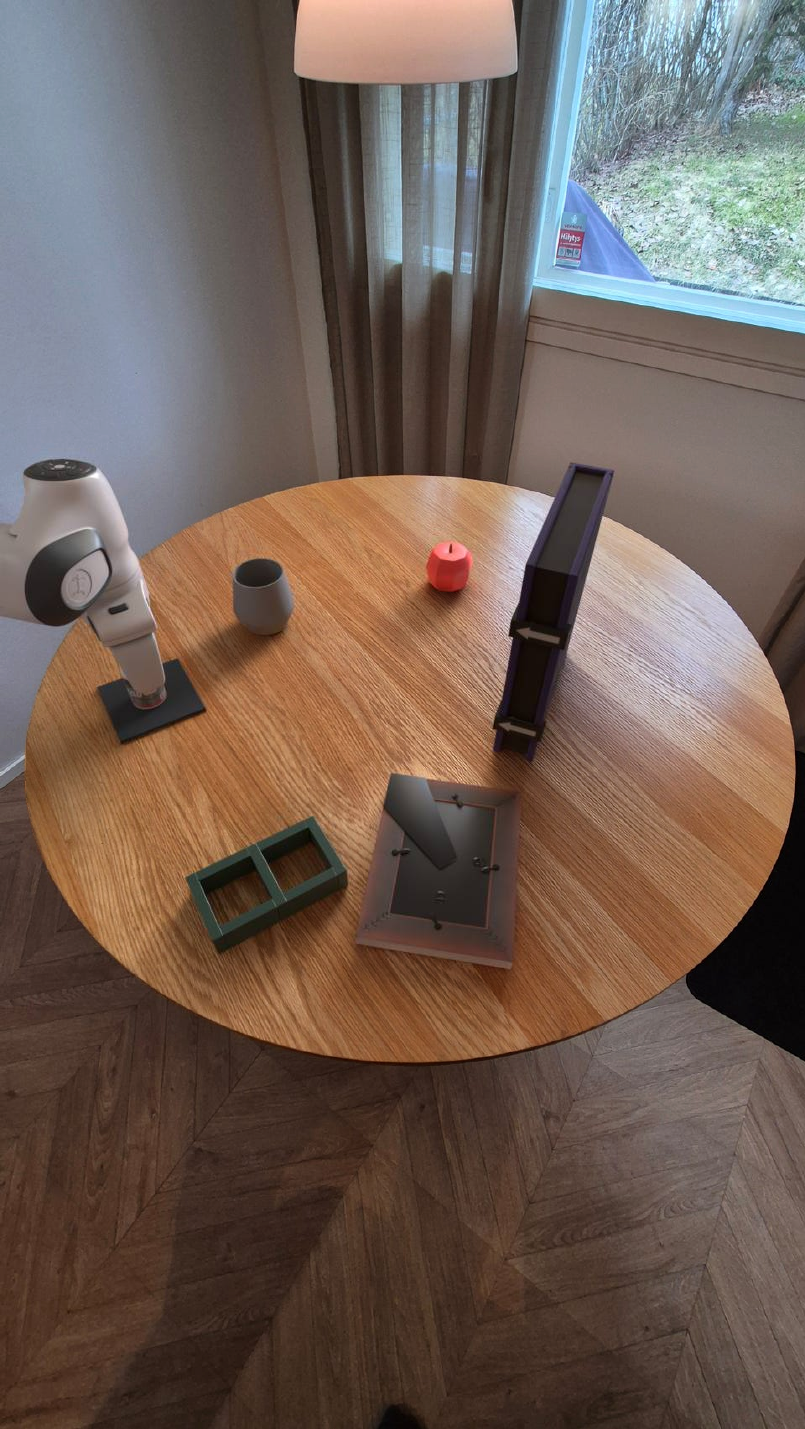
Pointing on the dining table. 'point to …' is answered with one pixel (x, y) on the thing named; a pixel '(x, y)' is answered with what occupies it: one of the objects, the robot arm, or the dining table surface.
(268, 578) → the cup
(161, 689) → the pill bottle
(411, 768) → the dining table surface
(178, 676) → the mat
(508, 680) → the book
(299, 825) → the holder
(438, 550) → the apple
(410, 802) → the picture frame
